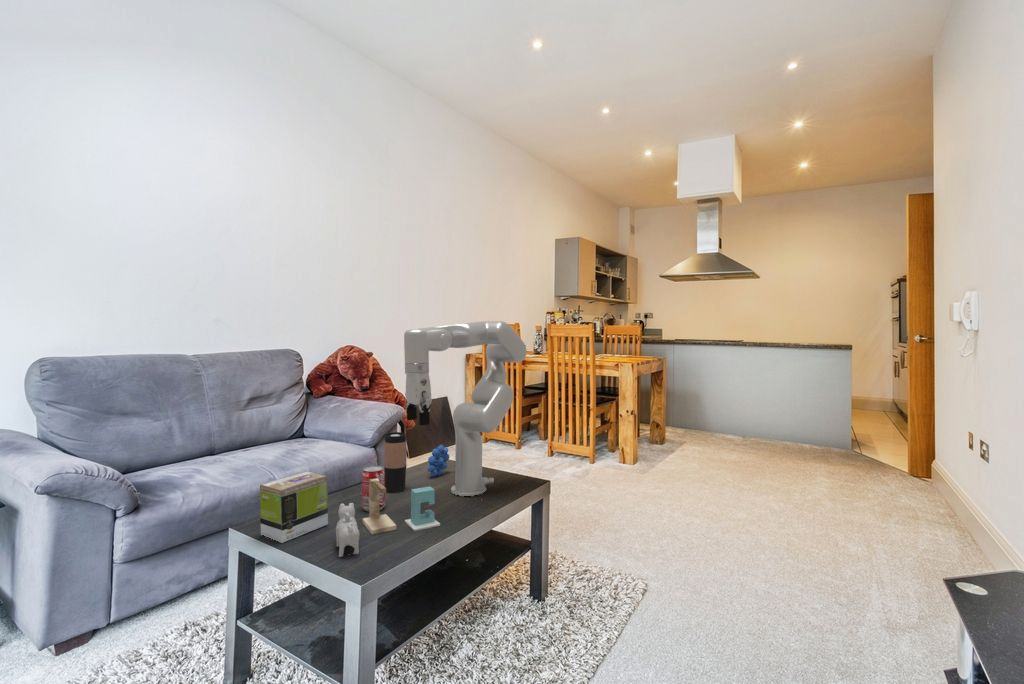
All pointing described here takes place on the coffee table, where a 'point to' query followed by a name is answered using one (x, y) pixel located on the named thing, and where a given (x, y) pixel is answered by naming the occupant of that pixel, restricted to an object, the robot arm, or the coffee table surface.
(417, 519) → the c link
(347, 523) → the dog figurine
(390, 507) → the coffee table surface
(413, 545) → the coffee table surface
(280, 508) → the tea box
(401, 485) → the travel mug
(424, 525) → the felt mat
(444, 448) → the grapes
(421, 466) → the coffee table surface
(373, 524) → the stand
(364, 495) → the soda can
